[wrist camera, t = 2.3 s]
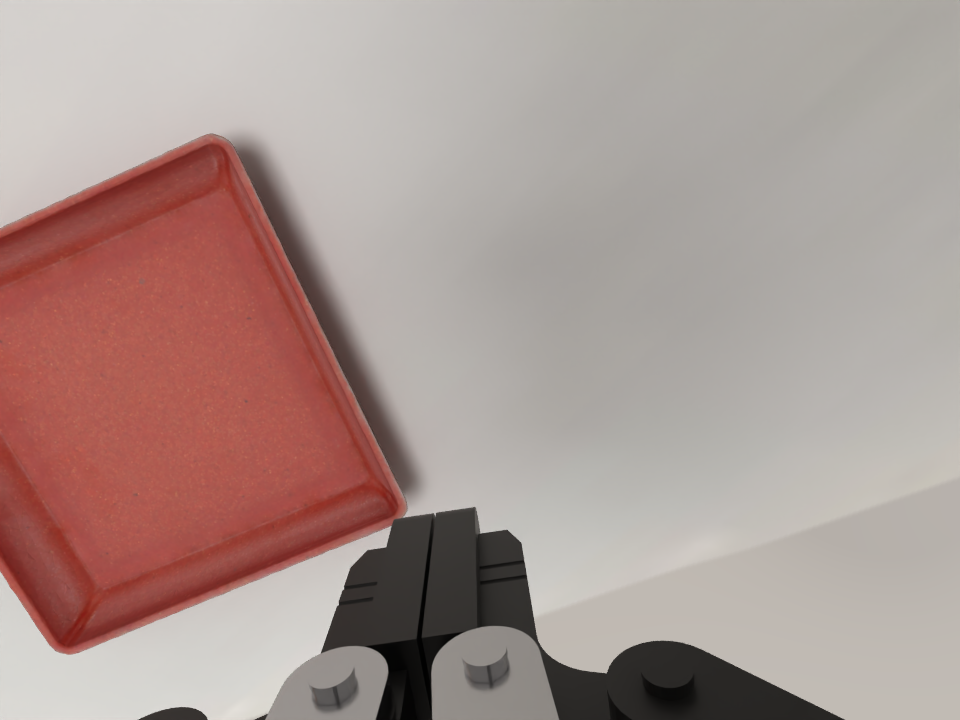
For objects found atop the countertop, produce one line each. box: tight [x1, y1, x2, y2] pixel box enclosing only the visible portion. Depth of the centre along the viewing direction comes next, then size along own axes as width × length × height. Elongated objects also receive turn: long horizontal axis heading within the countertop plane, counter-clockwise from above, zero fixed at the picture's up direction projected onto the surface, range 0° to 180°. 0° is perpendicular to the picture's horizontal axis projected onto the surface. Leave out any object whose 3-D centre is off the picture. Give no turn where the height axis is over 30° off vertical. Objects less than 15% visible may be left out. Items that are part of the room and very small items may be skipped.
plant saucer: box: [0, 134, 408, 655], centre depth 28 cm, size 18×18×3 cm
